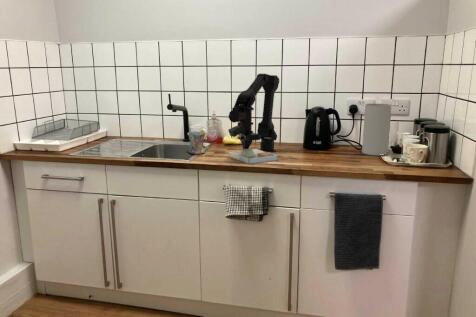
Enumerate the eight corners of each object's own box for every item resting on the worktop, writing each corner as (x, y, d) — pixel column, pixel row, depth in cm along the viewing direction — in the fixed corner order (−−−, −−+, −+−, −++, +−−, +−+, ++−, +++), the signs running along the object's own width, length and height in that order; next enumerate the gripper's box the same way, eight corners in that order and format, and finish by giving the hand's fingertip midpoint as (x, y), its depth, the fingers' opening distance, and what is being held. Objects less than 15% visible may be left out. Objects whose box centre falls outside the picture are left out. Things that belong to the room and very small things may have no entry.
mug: (191, 150, 213) (190, 131, 211) (208, 151, 212) (207, 131, 209) (183, 155, 202) (183, 135, 200) (201, 156, 200) (200, 135, 198)
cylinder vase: (376, 157, 198) (380, 106, 192) (356, 152, 208) (359, 104, 202) (392, 154, 204) (396, 105, 198) (372, 149, 214) (376, 103, 209)
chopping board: (256, 152, 209) (256, 148, 208) (267, 156, 199) (267, 152, 199) (229, 155, 201) (229, 152, 201) (239, 160, 192) (239, 156, 191)
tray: (267, 156, 199) (267, 151, 199) (277, 160, 191) (277, 155, 191) (239, 160, 192) (239, 155, 191) (248, 164, 184) (248, 159, 184)
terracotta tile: (266, 157, 197) (266, 152, 197) (271, 159, 193) (272, 154, 192) (257, 158, 195) (257, 153, 194) (263, 160, 190) (263, 155, 190)
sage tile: (250, 151, 196) (251, 148, 194) (254, 159, 193) (255, 155, 191) (241, 152, 193) (242, 149, 192) (245, 160, 190) (246, 156, 189)
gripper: (222, 118, 196) (222, 150, 199) (239, 123, 179) (239, 157, 183) (242, 117, 201) (241, 148, 204) (261, 122, 184) (260, 155, 188)
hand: (245, 152), depth 195 cm, fingers closed
